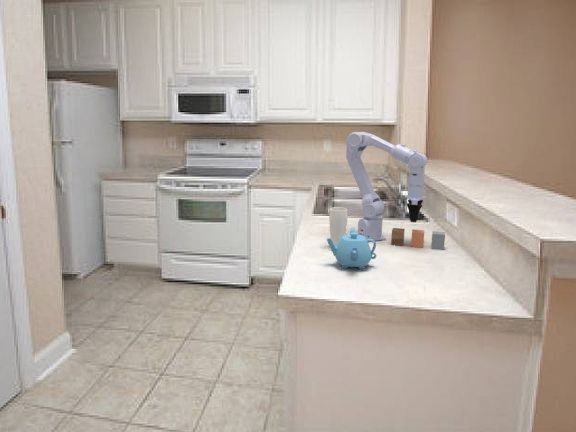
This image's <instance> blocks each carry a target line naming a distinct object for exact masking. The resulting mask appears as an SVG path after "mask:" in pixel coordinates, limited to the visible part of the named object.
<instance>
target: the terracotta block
mask: <svg viewBox="0 0 576 432" xmlns="http://www.w3.org/2000/svg"><path fill="white" fill-rule="evenodd" d="M424 238H425V230H424V229H412V230H411V241H410V243H411V244H410V248H417V249H423V248H424V242H425V241H424V240H425V239H424Z"/></svg>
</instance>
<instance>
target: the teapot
mask: <svg viewBox="0 0 576 432" xmlns="http://www.w3.org/2000/svg"><path fill="white" fill-rule="evenodd" d="M326 241H327V244H328V246H329V248H330V250H331V252H332V255H333V256H334V257H335V259H336V261H337V263H338V264H339V265H341V269H342V270H347V269H349V267H355V268H356V267H357V269H358V270H361V271H363V270H366V268H365V267H366V266H367V265H369V263H370V262H371V260H375V259H376V258H377V253H376V252H375V249H376V247H377V241H374V240H373V239H366V238H365V237H364V236H362V235H358V232H355V228H354V227H350V233H349V234H345V235H343V236H342V237H341V239H340V241H339V243H338V245H337V246H336V245H335V244H334V242H333V241H332V239H331V238H330V237H329V238H326ZM368 241H370V242H371V243H373V246H372V249H371V247H370V245H369V242H368Z"/></svg>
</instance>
